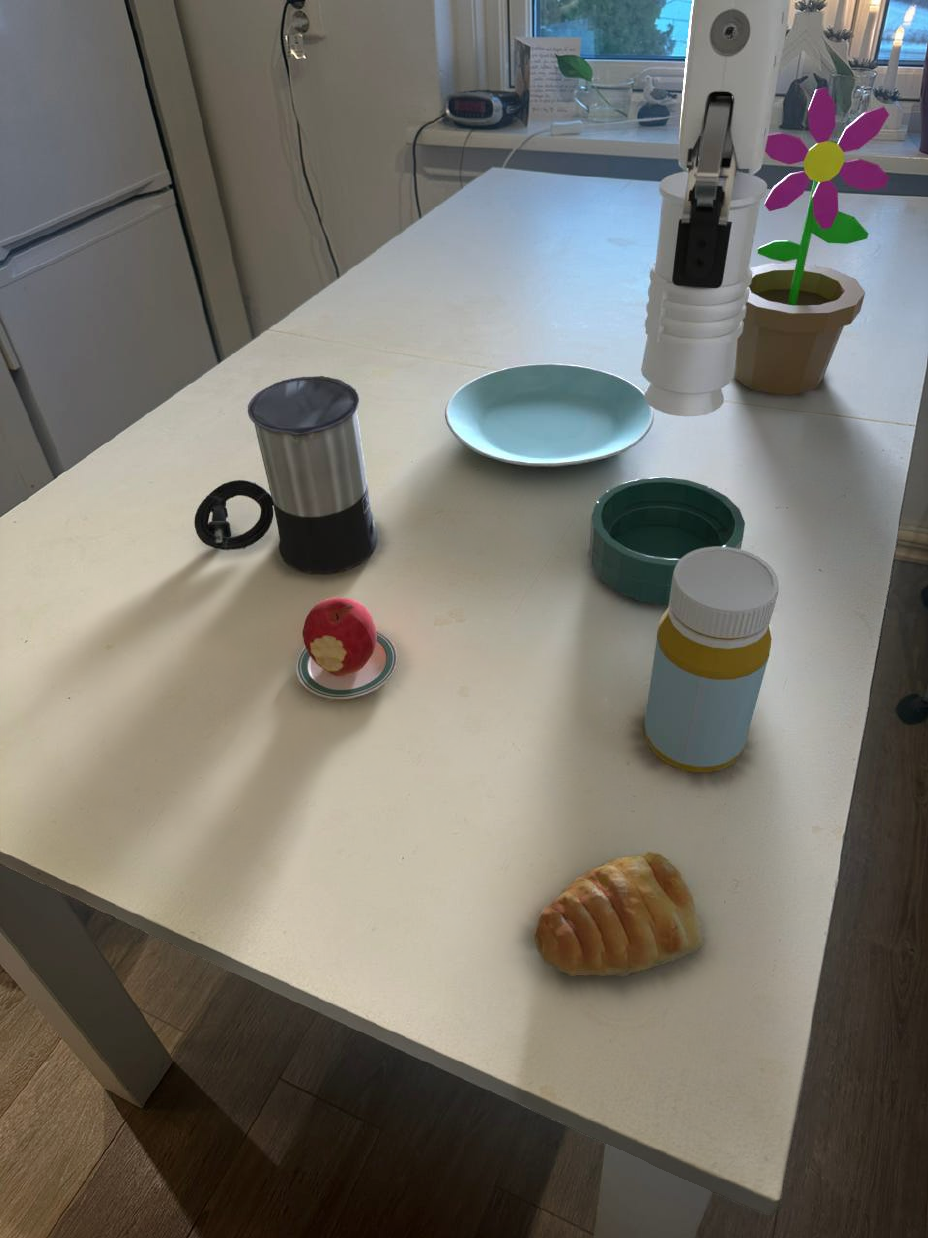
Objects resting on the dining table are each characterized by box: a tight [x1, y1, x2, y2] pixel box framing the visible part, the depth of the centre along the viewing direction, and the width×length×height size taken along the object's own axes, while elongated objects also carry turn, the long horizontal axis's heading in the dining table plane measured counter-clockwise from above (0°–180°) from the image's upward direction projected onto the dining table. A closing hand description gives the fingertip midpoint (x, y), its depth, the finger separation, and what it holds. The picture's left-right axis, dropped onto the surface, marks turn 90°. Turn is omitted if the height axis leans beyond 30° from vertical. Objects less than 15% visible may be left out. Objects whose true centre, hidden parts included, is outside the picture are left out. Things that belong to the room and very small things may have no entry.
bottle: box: [643, 546, 780, 773], centre depth 57 cm, size 7×7×15 cm
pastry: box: [534, 851, 704, 977], centre depth 51 cm, size 9×7×4 cm
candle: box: [640, 170, 768, 417], centre depth 61 cm, size 7×7×15 cm
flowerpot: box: [734, 86, 890, 395], centre depth 92 cm, size 14×14×30 cm
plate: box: [444, 363, 655, 468], centre depth 94 cm, size 22×22×3 cm
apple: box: [295, 597, 398, 700], centre depth 67 cm, size 8×8×6 cm
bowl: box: [588, 476, 746, 606], centre depth 75 cm, size 13×13×5 cm
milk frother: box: [193, 375, 379, 575], centre depth 77 cm, size 14×16×15 cm
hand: (702, 263), depth 60 cm, fingers closed on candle, 6 cm apart
